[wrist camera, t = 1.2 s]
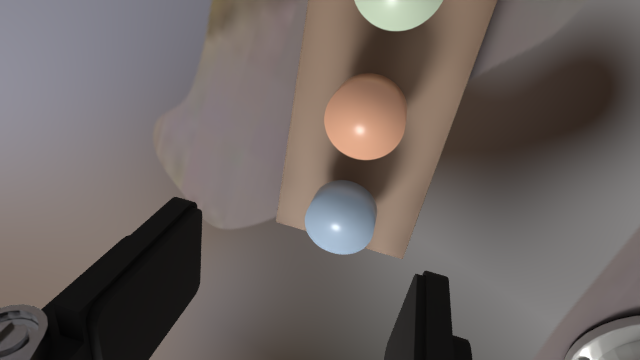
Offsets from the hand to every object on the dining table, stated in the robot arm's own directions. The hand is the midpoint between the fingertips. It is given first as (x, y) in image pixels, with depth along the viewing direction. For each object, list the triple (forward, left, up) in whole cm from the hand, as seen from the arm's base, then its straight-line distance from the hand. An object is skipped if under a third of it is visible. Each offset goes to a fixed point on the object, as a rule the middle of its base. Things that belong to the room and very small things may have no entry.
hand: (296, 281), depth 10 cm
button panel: (0, 0, -20) cm, 20 cm away
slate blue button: (0, +7, -15) cm, 16 cm away
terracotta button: (0, 0, -15) cm, 15 cm away
